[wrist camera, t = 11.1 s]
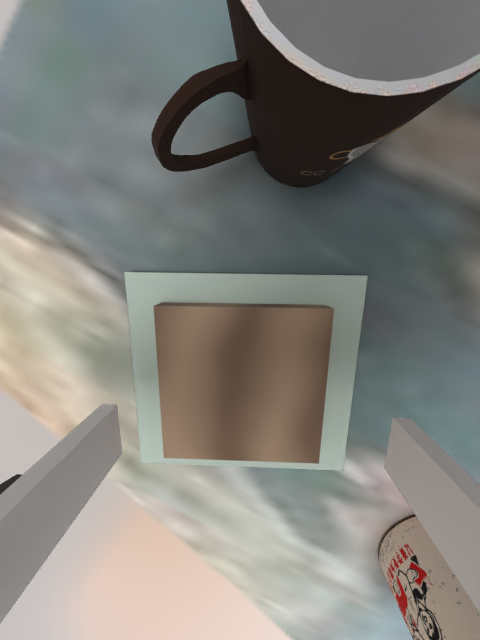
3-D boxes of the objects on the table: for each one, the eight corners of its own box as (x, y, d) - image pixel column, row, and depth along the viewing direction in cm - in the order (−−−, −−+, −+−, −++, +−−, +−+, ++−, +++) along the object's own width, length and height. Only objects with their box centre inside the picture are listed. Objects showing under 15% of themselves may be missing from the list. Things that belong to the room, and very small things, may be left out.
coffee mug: (374, 31, 13) (722, -622, 4) (375, 195, 15) (609, 60, 5) (175, 68, 14) (6, -393, 4) (198, 221, 16) (118, 143, 6)
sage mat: (360, 275, 16) (367, 275, 15) (338, 460, 19) (343, 470, 18) (131, 272, 17) (124, 272, 16) (146, 453, 20) (141, 462, 19)
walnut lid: (325, 304, 16) (334, 308, 14) (312, 446, 18) (318, 463, 16) (162, 302, 16) (153, 305, 14) (170, 441, 18) (163, 458, 17)
